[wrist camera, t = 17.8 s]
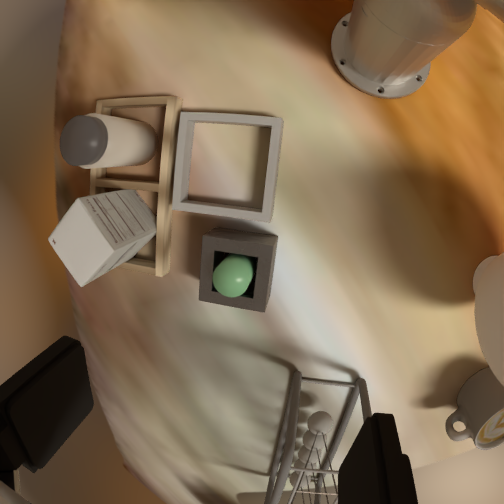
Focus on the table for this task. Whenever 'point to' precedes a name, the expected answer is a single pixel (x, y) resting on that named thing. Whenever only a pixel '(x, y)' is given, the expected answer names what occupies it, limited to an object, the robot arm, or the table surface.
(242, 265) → the button
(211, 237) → the grey square holder
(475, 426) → the coffee mug
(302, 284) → the table surface
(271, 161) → the frame
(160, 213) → the wooden frame with crossbar
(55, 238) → the supplement box
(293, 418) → the newton's cradle
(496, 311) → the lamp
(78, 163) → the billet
